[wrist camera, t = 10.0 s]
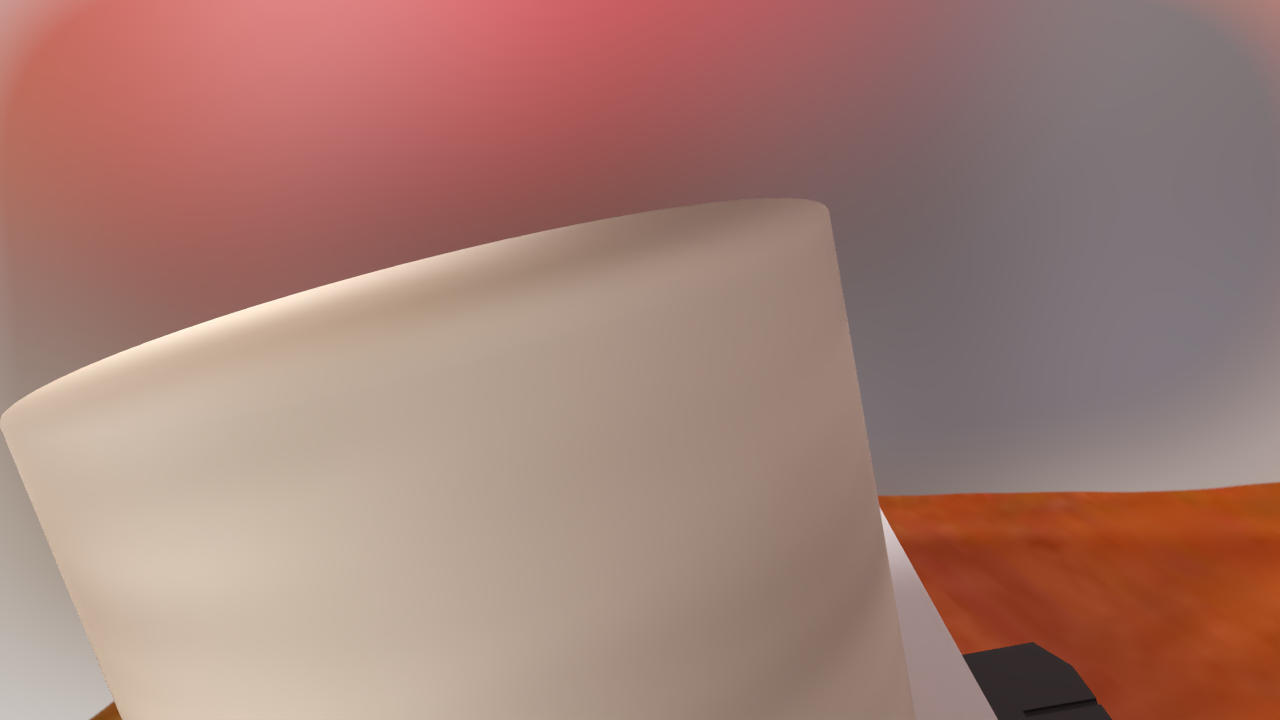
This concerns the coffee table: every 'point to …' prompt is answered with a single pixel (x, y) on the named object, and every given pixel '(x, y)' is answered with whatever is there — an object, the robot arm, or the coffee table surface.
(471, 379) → the ash peg
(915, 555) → the coffee table surface
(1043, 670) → the robot arm
